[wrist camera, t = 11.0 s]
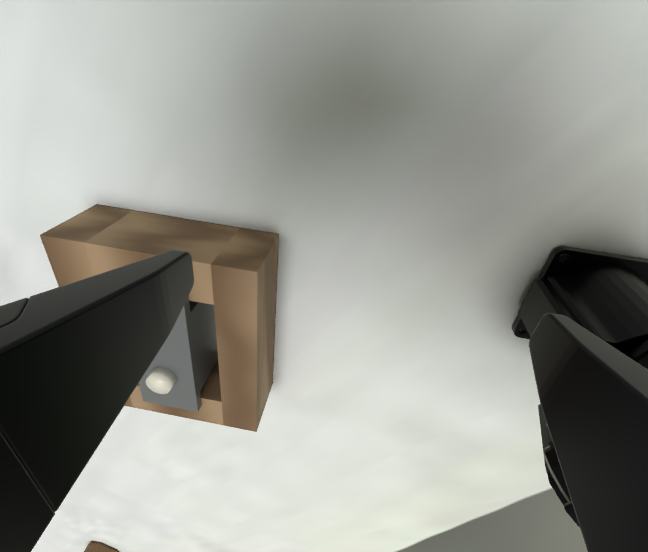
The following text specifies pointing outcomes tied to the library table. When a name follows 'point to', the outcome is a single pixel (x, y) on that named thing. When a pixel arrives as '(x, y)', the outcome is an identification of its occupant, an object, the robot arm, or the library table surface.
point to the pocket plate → (191, 295)
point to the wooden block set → (99, 547)
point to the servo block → (183, 360)
